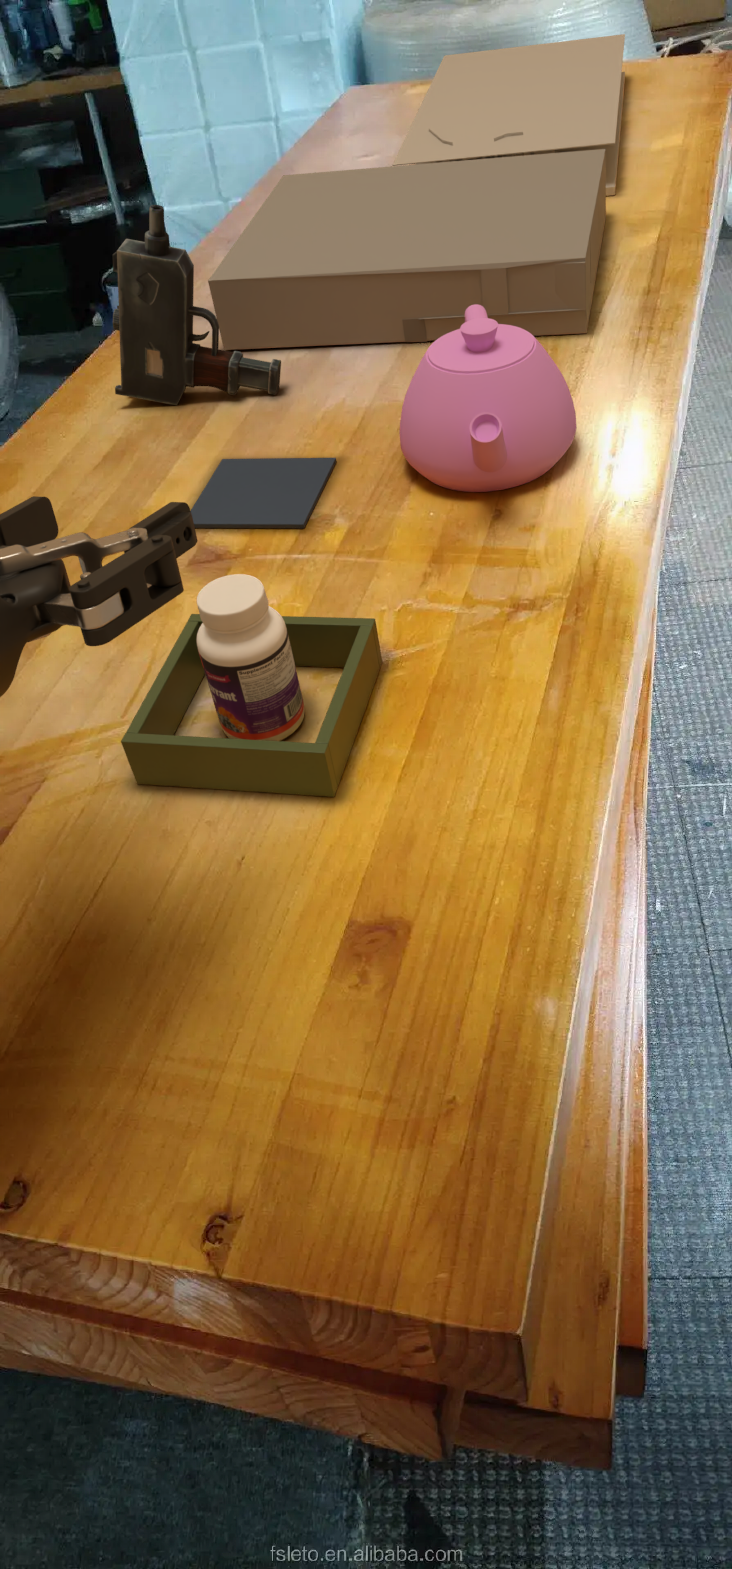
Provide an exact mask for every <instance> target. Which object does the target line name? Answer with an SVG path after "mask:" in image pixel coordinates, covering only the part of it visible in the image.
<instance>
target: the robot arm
mask: <svg viewBox="0 0 732 1569" xmlns="http://www.w3.org/2000/svg"><path fill="white" fill-rule="evenodd" d="M54 511H55V510H54V508H53V504H52V502H51V499H49V497H47V496H35V495H34V496H33V495H32V496H31V497H29V498H27V499H25V500H24V501H22V502H20V503H18V504H16V505H14V506H13V507H11V508H9V509H7V510H5V511H3V512H2V513H0V698H1V697H3V696H4V695H5V694H6V693H7V691H8V690H9V689H10V687H11V685H12V684H13V681H14V679H15V677H16V673H17V668H18V665H19V661H20V658H21V655H22V652H23V650H24V648H25V646H26V645H27V643H30V642H34V641H37V640H41V639H43V638H47V637H49V636H50V635H52V633H54V632H56V631H57V630H59V629H61V628H62V627H64V626H70V627H71V626H72V627H77V628H80V631H81V634H82V639H83V641H84V644H85V646H87V647H100V646H103V645H106V644H108V643H110V642H112V641H113V640H114V639H116V638H118V637H119V636H120V635H122V634H123V633H125V632H126V631H128V630H129V629H131V628H132V627H133V626H135V625H137V624H138V623H140V622H141V621H143V620H144V619H145V618H147V617H149V616H150V615H152V614H153V613H155V612H156V611H157V610H159V609H160V608H162V607H164V606H165V605H166V604H168V603H170V602H171V601H173V599H175V598H177V597H178V596H179V595H182V593H184V591H185V589H184V585H183V581H182V580H183V579H182V575H181V572H180V567H179V563H178V558H179V557H181V556H183V555H184V554H185V553H187V552H188V551H190V550H191V549H193V548H194V547H195V546H196V545H197V543H198V542H199V540H198V536H197V531H196V528H195V527H194V523H193V518H192V514H191V512H190V511H191V508H190V505H189V504H188V503H187V502H185V501H170V502H169V503H167V504H165V505H164V506H162V507H161V508H159V509H158V510H156V511H154V512H153V513H152V514H150V515H148V516H146V517H145V518H143V519H141V520H140V521H138V522H137V523H135V524H134V525H132V526H131V527H129V528H128V529H126V530H123V531H120V532H116V533H113V534H109V535H105V536H102V537H99V538H93V537H92V536H90V535H89V534H88V533H86V532H83V531H81V532H76V533H71V534H69V535H64V536H62V537H58V535H59V525H58V521H57V518H56V515H55V512H54ZM122 552H123V553H122ZM119 553H122V554H121V555H118V556H117V557H116V558H115V559H112V560H111V561H109V562H107V563H106V564H104V565H103V560H104V559H105V558H106V557H108V556H112V555H115V554H119ZM69 557H77V558H78V561H79V565H80V568H81V572H82V573H81V574H80V576H79V578H80V580H78V581H76V582H74V583H73V584H71V582H70V579H69V575H68V572H67V568H66V564H65V562H64V561H63V559H66V558H69Z"/></svg>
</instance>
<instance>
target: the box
mask: <svg viewBox="0 0 732 1569" xmlns="http://www.w3.org/2000/svg"><path fill="white" fill-rule="evenodd" d="M606 218H607V196H606V149H598V150H586V151H573V152H561V153H549V154H537V155H525V156H512V157H500V158H488V159H476V160H464V161H451V162H439V163H427V164H407V165H397V166H393V165H391V166H381V167H380V166H379V167H367V168H355V169H354V168H353V169H343V170H329V171H319V172H306V173H305V172H304V173H294V174H284V175H282V176H281V178H280V179H279V181H278V182H277V184H276V185H275V186H274V188H273V189H272V191H270V192H269V195H268V196H267V197H266V198H265V200H264V202H263V203H262V205H261V206H260V207H259V208H258V210H257V211H256V212H255V214H254V216H253V217H252V218H251V220H250V221H249V222H248V224H247V225H246V226H245V228H244V230H243V231H242V232H241V234H240V235H239V236H238V238H237V239H236V241H235V242H234V244H233V245H232V247H231V248H230V249H229V250H228V252H227V253H226V254H225V256H224V258H223V259H222V260H221V262H220V263H219V264H218V266H217V268H216V269H215V270H214V271H213V273H212V274H211V276H210V277H209V279H208V280H207V283H208V287H209V291H210V295H211V296H210V297H211V300H212V304H213V308H214V313H215V317H216V318H217V321H218V324H219V336H220V338H221V342H222V343H221V344H222V346H223V350H225V351H231V350H233V351H235V350H251V349H252V350H254V349H255V350H257V349H271V348H272V349H274V348H275V349H276V348H296V347H316V346H318V347H320V346H340V345H360V344H364V345H365V344H382V343H383V344H384V343H427V342H428V341H429V342H430V341H436V340H437V339H438V338H440V337H442V336H443V335H445V334H447V333H450V332H452V331H455V330H458V329H460V327H461V325H462V324H463V323H465V311H466V309H467V308H468V307H469V306H471V305H475V304H478V305H481V306H483V307H484V308H485V310H486V313H487V317H488V318H489V319H493V320H495V321H497V323H498V324H505V325H512V326H516V327H519V328H522V329H524V330H526V331H528V332H529V333H531V334H532V335H533V336H534V337H536V336H554V335H555V336H556V335H575V334H576V335H579V334H587V333H588V327H589V322H590V316H591V311H592V310H591V309H592V304H593V297H594V293H595V292H594V291H595V285H596V279H597V273H598V267H599V261H600V254H601V249H602V243H603V236H604V231H605V224H606V220H607V219H606Z"/></svg>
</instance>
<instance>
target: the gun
mask: <svg viewBox="0 0 732 1569" xmlns="http://www.w3.org/2000/svg"><path fill="white" fill-rule="evenodd" d="M148 215H149V217H148V218H149V219H148V222H149V224H148V226H149V228H148V229H149V230H147V231H145V233H144V241H142V240H137V239H136V240H135V239H130V238H125V239H124V241H123V242H122V243H121V245H120V246H119V247H118V249H117V250H116V251H115V252H114V253H113V254H112V271H113V272H114V273H117V294H118V298H117V300H118V305H116V308H114V310H113V312H112V328H113V330H114V331H119V358H120V384H118V385H116V386H115V387H114V394H115V395H117V396H124V397H128V398H135V399H139V400H144V401H150V402H156V403H161V404H166V405H172V406H178V404H179V402H180V401H181V398H182V396H183V395H184V393H185V391H186V389H187V387H188V388H193V389H195V387H209V388H215V389H218V390H219V391H222V392H225V393H227V394H228V395H230V396H236V395H237V394H238V392H239V390H240V388H241V387H242V388H248V389H252V390H260V391H266V392H267V394H268V395H274V396H277V394H278V392H279V389H280V384H281V373H282V372H281V371H282V360H281V359H276V358H272V360H271V362H270V361H265V360H260V359H256V358H255V359H254V358H249V357H244V354H243V353H242V352H241V351H238V350H233V351H231V350H224V349H219V346H220V345H219V342H220V341H219V339H220V330H219V324H218V321H217V318H216V314H214V313H213V311H211V310H209V309H208V308H205V307H200V306H195V305H194V287H195V286H194V283H195V282H194V279H195V278H194V277H195V276H194V275H195V266H194V263H193V261H192V259H191V257H190V256H189V253H188V251H187V250H186V249H185V248H179V247H173V246H170V235H169V233H167V232H166V231H165V208H164V207H163V205H161V204H160V205H159V204H151V205H150V206H149V209H148ZM194 316H195V317H199V318H200V317H201V318H203V319H205V320H206V322H208V323H209V325H210V327H211V347H207V346H202V345H201V344H199V343H195V342H200V341H203V340H205V339H206V338H207V337H208V336H209V334H210V330H208V331H206V332H205V333H202V334H195V333H194Z"/></svg>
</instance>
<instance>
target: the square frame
mask: <svg viewBox="0 0 732 1569" xmlns="http://www.w3.org/2000/svg"><path fill="white" fill-rule="evenodd" d="M281 616H282V618H283V620H284V622H285V625H286V628H287V632H288V636H289V641H290V645H291V650H292V654H293V658H294V663H295V667H315V668H341V669H342V668H343V670H342V671H341V672H342V673H341V675H340V676H339V677H340V678H339V680H338V683H337V685H336V688H335V691H334V693H333V695H332V697H331V700H330V703H329V706H328V708H327V711H326V713H325V716H324V719H323V722H322V724H321V726H320V729H319V731H318V734H317V737H316V740H315V742H303V741H302V742H301V741H286V740H285V741H284V740H281V741H266V740H248V739H230V738H229V737H227V738H226V737H209V736H192V735H191V736H190V735H175V733H176V732H177V729H178V727H179V726H180V723H181V721H182V719H183V718H184V716H185V714H186V712H187V710H188V708H189V706H190V704H191V702H192V700H193V698H194V696H195V694H196V692H197V689H198V688H199V686H200V685H201V683H202V680H203V678H204V676H206V675H205V672H204V668H203V665H202V662H201V658H200V655H199V652H198V647H197V633H198V630H199V628H200V626H201V624H202V623H203V622H202V620H201V618H200V614H199V613H191V614H190V615H189V617H188V619H187V621H186V623H185V625H184V626H183V629H182V630H181V632H180V634H179V635H178V637H177V639H176V641H175V643H174V644H173V647H172V649H171V650H170V652H169V653H168V655H167V657H166V660H165V661H164V663H163V665H162V666H161V668H160V670H159V672H158V674H157V675H156V678H155V679H154V681H153V683H152V685H151V687H150V688H149V690H148V692H147V693H146V696H145V697H144V699H143V701H142V702H141V705H140V706H139V708H138V709H137V712H136V713H135V715H134V717H133V718H132V721H131V722H130V724H129V726H128V728H127V730H126V732H125V733H124V735H123V737H122V739H121V740H120V743H121V746H122V748H123V751H124V753H125V756H126V759H127V761H128V764H129V766H130V769H131V772H132V775H133V777H134V780H135V782H136V784H137V785H149V786H150V785H151V786H164V787H178V788H179V787H180V788H193V789H194V788H195V789H207V790H208V789H209V790H210V789H211V790H225V791H239V792H241V791H242V792H253V793H270V794H283V795H284V794H285V795H298V796H299V795H301V796H314V797H329V798H334V797H336V794H337V791H338V788H339V785H340V782H341V779H342V777H343V774H344V771H345V769H346V765H347V763H348V760H349V758H350V754H351V751H352V748H353V746H354V743H355V740H356V738H357V734H358V732H359V729H360V726H361V723H362V721H363V717H364V715H365V712H366V710H367V707H368V703H369V701H370V697H371V695H372V692H373V689H374V687H375V684H376V681H377V678H378V675H379V672H380V669H381V667H382V663H383V657H382V651H381V646H380V639H379V632H378V627H377V621H376V618H372V617H371V618H370V617H369V618H368V617H335V616H333V617H331V616H294V615H281Z"/></svg>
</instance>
